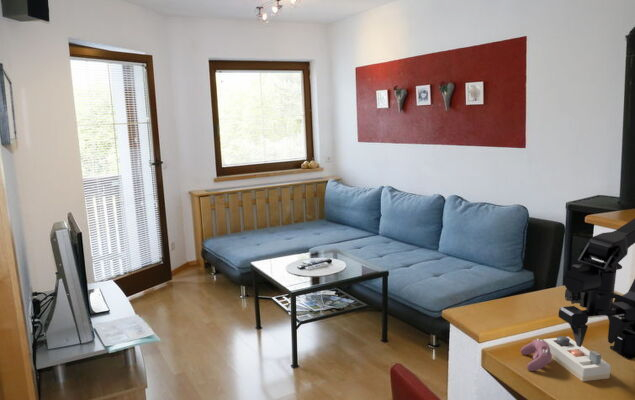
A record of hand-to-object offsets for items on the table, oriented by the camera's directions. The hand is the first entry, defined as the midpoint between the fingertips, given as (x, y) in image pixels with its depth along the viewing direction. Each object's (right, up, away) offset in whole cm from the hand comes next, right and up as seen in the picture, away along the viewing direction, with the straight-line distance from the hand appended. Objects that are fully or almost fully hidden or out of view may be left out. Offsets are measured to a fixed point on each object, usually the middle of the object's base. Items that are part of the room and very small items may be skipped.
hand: (594, 344), depth 129 cm
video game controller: (-15, -5, +2) cm, 16 cm away
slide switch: (-3, -5, -5) cm, 7 cm away
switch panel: (-5, -5, +1) cm, 7 cm away
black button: (-6, -2, +5) cm, 8 cm away
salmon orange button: (-5, -4, 0) cm, 6 cm away
